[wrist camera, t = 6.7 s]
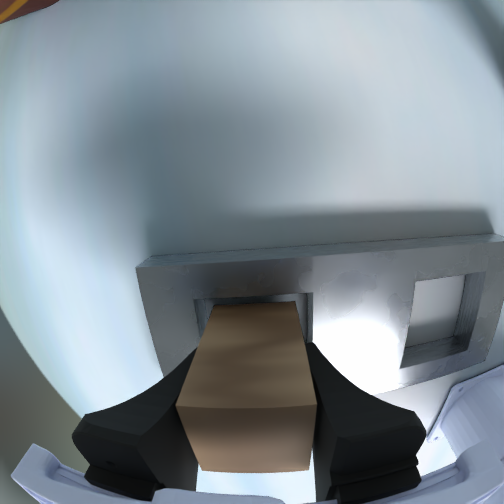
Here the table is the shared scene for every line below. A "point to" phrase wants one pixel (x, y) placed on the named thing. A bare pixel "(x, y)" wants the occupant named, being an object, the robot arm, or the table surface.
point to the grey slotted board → (338, 301)
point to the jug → (21, 8)
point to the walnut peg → (250, 391)
